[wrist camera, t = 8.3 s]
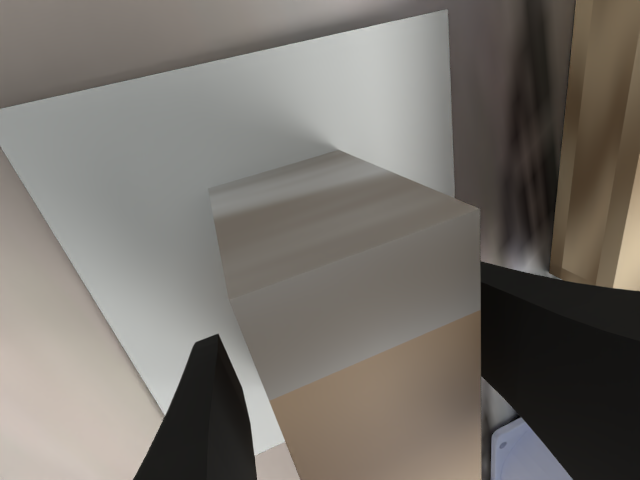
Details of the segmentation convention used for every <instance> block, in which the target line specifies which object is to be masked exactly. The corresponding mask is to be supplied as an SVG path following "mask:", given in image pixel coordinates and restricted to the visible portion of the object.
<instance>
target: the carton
mask: <svg viewBox="0 0 640 480" xmlns="http://www.w3.org/2000/svg"><path fill="white" fill-rule="evenodd" d="M549 273H550V274H552V275H554V276H556V277H558V278H560V279H562V280H564V281H569V282H575V283H581V284H588V285H595V286H602V287H608V288H616V289H625V290H634V291H640V0H576V6H575V16H574V26H573V37H572V47H571V57H570V67H569V77H568V87H567V97H566V107H565V117H564V127H563V138H562V148H561V158H560V168H559V178H558V188H557V198H556V208H555V218H554V229H553V239H552V249H551V259H550V269H549Z"/></svg>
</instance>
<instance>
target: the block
mask: <svg viewBox="0 0 640 480" xmlns="http://www.w3.org/2000/svg"><path fill="white" fill-rule="evenodd" d="M208 192H209V197H210V203H211V208H212V213H213V219H214V224H215V229H216V235H217V240H218V245H219V251H220V256H221V261H222V267H223V272H224V277H225V283H226V288H227V293H228V299H229V302H230V304H231V307H232V309H233V312H234V314H235V317H236V319H237V322H238V324H239V327H240V329H241V332H242V334H243V337H244V339H245V342H246V344H247V347H248V349H249V352H250V354H251V357H252V359H253V362H254V364H255V367H256V369H257V372H258V374H259V377H260V379H261V382H262V384H263V387H264V389H265V392H266V394H267V397H268V399H269V402H270V404H271V407H272V409H273V412H274V414H275V417H276V420H277V422H278V425H279V427H280V430H281V432H282V435H283V437H284V440H285V442H286V445H287V447H288V450H289V452H290V455H291V457H292V460H293V462H294V465H295V467H296V470H297V472H298V475H299V477H300V480H481V276H480V209H479V208H477V207H475V206H472V205H470V204H467V203H465V202H463V201H460V200H458V199H455V198H453V197H451V196H448V195H446V194H443V193H441V192H439V191H436V190H434V189H432V188H429V187H427V186H424V185H422V184H420V183H417V182H415V181H412V180H410V179H408V178H405V177H403V176H400V175H398V174H396V173H393V172H391V171H388V170H386V169H384V168H381V167H379V166H376V165H374V164H372V163H369V162H367V161H364V160H362V159H360V158H357V157H355V156H352V155H350V154H348V153H345V152H343V151H340V150H337V151H334V152H330V153H327V154H323V155H320V156H317V157H313V158H310V159H306V160H303V161H300V162H296V163H293V164H289V165H286V166H283V167H279V168H276V169H272V170H269V171H266V172H262V173H259V174H256V175H252V176H249V177H245V178H242V179H239V180H235V181H232V182H228V183H225V184H222V185H218V186H215V187H211V188H208Z"/></svg>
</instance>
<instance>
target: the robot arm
mask: <svg viewBox="0 0 640 480" xmlns="http://www.w3.org/2000/svg"><path fill="white" fill-rule="evenodd" d="M480 276H481V376H482V377H483V378H484V379H485V380H486V381H487V382H488V383H489V384H490V385H491V386H492V387H493V388H494V389H495V390H496V391H497V392H498V393H499V394H500V395H501V396H502V397H503V398H504V399H505V400H506V401H507V402H508V403H509V404H510V405H511V406H512V407H513V408H514V409H515V410H516V412H517V413H518V414H519V415H520V416H521V417H520V418H518V419H516V420H514V421H513V422H511V423H509V424H507V425H505V426H503V427H501V428H499V429H497V430H496V431H495V432H494V433H493V435H492V440H491V480H640V291H634V290H625V289H616V288H608V287H602V286H595V285H588V284H581V283H575V282H569V281H564V280H558V279H553V278H549V277H544V276H539V275H534V274H530V273H525V272H521V271H517V270H512V269H508V268H504V267H500V266H496V265H493V264H489V263H485V262H481V261H480ZM133 480H257V474H256V466H255V457H254V448H253V439H252V431H251V423H250V419H249V414H248V410H247V406H246V401H245V397H244V393H243V389H242V386H241V384H240V381H239V379H238V377H237V375H236V372H235V370H234V368H233V365H232V363H231V361H230V359H229V356H228V354H227V352H226V350H225V347H224V345H223V343H222V340H221V338H220V336H219V334H216V335H213V336H210V337H208V338H205V339H203V340H200V341H197V342H195V344H194V345H193V347H192V350H191V353H190V355H189V358H188V361H187V364H186V366H185V369H184V372H183V374H182V377H181V379H180V382H179V384H178V387H177V389H176V392H175V394H174V396H173V399H172V401H171V403H170V406H169V408H168V410H167V413H166V415H165V417H164V419H163V422H162V424H161V426H160V428H159V430H158V432H157V434H156V436H155V438H154V440H153V442H152V444H151V446H150V448H149V451H148V453H147V455H146V457H145V458H144V460H143V462H142V464H141V466H140V468H139V470H138V472H137V474H136V475H135V477H134V479H133Z"/></svg>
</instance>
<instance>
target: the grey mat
mask: <svg viewBox="0 0 640 480" xmlns="http://www.w3.org/2000/svg"><path fill="white" fill-rule="evenodd" d="M0 147H1V148H2V150H3V152H4V153H5V155H6V157H7V158H8V160H9V161H10V163H11V165H12V166H13V168H14V170H15V171H16V173H17V175H18V176H19V178H20V179H21V181H22V183H23V184H24V186H25V188H26V189H27V191H28V193H29V194H30V196H31V197H32V199H33V201H34V202H35V204H36V206H37V207H38V209H39V211H40V212H41V214H42V215H43V217H44V219H45V220H46V222H47V224H48V225H49V227H50V229H51V230H52V232H53V233H54V235H55V237H56V238H57V240H58V242H59V243H60V245H61V247H62V248H63V250H64V251H65V253H66V255H67V256H68V258H69V260H70V261H71V263H72V265H73V266H74V268H75V269H76V271H77V273H78V274H79V276H80V278H81V279H82V281H83V283H84V284H85V286H86V287H87V289H88V291H89V292H90V294H91V296H92V297H93V299H94V301H95V302H96V304H97V305H98V307H99V309H100V310H101V312H102V314H103V315H104V317H105V319H106V320H107V322H108V323H109V325H110V327H111V328H112V330H113V332H114V333H115V335H116V337H117V338H118V340H119V341H120V343H121V345H122V346H123V348H124V350H125V351H126V353H127V354H128V356H129V358H130V359H131V361H132V363H133V364H134V366H135V368H136V369H137V371H138V372H139V374H140V376H141V377H142V379H143V381H144V382H145V384H146V386H147V387H148V389H149V390H150V392H151V394H152V395H153V397H154V399H155V400H156V402H157V404H158V405H159V407H160V408H161V410H162V412H163V413H164V415H166V413H167V410H168V408H169V406H170V403H171V401H172V399H173V396H174V394H175V392H176V389H177V387H178V384H179V382H180V379H181V377H182V374H183V372H184V369H185V366H186V364H187V361H188V358H189V355H190V353H191V350H192V347H193V345H194V344H195V342H197V341H200V340H203V339H205V338H208V337H210V336H213V335H216V334H219V336H220V338H221V340H222V343H223V345H224V347H225V350H226V352H227V354H228V356H229V359H230V361H231V363H232V365H233V368H234V370H235V372H236V375H237V377H238V379H239V381H240V384H241V386H242V389H243V393H244V397H245V401H246V406H247V410H248V414H249V419H250V423H251V431H252V439H253V448H254V456H255V455H257V454H259V453H262V452H264V451H266V450H268V449H270V448H273V447H275V446H277V445H279V444H281V443H283V442H285V440H284V437H283V435H282V432H281V430H280V427H279V425H278V422H277V420H276V417H275V414H274V412H273V409H272V407H271V404H270V402H269V399H268V397H267V394H266V392H265V389H264V387H263V384H262V382H261V379H260V377H259V374H258V372H257V369H256V367H255V364H254V362H253V359H252V357H251V354H250V352H249V349H248V347H247V344H246V342H245V339H244V337H243V334H242V332H241V329H240V327H239V324H238V322H237V319H236V317H235V314H234V312H233V309H232V307H231V304H230V302H229V299H228V293H227V288H226V283H225V277H224V272H223V267H222V261H221V256H220V251H219V245H218V240H217V235H216V229H215V224H214V219H213V213H212V208H211V203H210V197H209V192H208V188H211V187H215V186H218V185H222V184H225V183H228V182H232V181H235V180H239V179H242V178H245V177H249V176H252V175H256V174H259V173H262V172H266V171H269V170H272V169H276V168H279V167H283V166H286V165H289V164H293V163H296V162H300V161H303V160H306V159H310V158H313V157H317V156H320V155H323V154H327V153H330V152H334V151H337V150H340V151H343V152H345V153H348V154H350V155H352V156H355V157H357V158H360V159H362V160H364V161H367V162H369V163H372V164H374V165H376V166H379V167H381V168H384V169H386V170H388V171H391V172H393V173H396V174H398V175H400V176H403V177H405V178H408V179H410V180H412V181H415V182H417V183H420V184H422V185H424V186H427V187H429V188H432V189H434V190H436V191H439V192H441V193H443V194H446V195H448V196H451V197H453V198H455V183H454V157H453V131H452V105H451V79H450V53H449V27H448V9H445V10H441V11H436V12H432V13H427V14H423V15H418V16H414V17H409V18H405V19H400V20H396V21H391V22H387V23H382V24H378V25H373V26H369V27H364V28H360V29H356V30H351V31H347V32H342V33H338V34H333V35H329V36H324V37H320V38H315V39H311V40H306V41H302V42H297V43H293V44H288V45H284V46H279V47H275V48H270V49H266V50H261V51H257V52H252V53H248V54H243V55H239V56H234V57H230V58H225V59H221V60H216V61H212V62H207V63H203V64H198V65H194V66H189V67H185V68H181V69H176V70H172V71H167V72H163V73H158V74H154V75H149V76H145V77H140V78H136V79H131V80H127V81H122V82H118V83H113V84H109V85H104V86H100V87H95V88H91V89H86V90H82V91H77V92H73V93H68V94H64V95H59V96H55V97H50V98H46V99H41V100H37V101H32V102H28V103H23V104H19V105H14V106H10V107H6V108H1V109H0Z"/></svg>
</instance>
